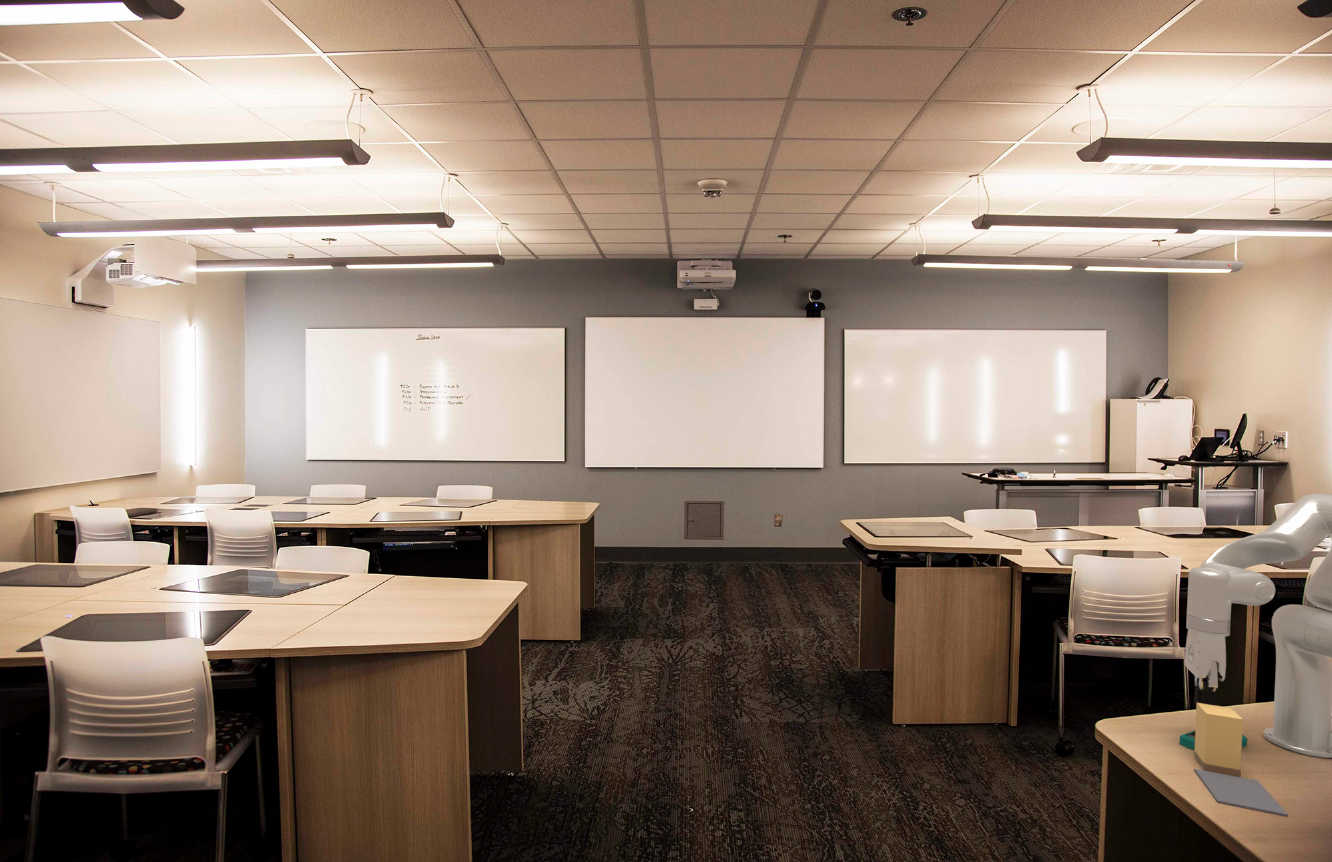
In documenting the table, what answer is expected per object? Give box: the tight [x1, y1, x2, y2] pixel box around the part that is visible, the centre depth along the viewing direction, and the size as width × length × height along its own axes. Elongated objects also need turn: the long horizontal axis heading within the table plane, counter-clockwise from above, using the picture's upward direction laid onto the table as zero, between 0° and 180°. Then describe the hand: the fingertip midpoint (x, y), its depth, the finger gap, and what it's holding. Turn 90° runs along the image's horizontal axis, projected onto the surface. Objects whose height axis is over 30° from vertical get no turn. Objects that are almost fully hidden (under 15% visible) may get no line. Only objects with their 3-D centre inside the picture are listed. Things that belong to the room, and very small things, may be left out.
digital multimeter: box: [1178, 729, 1248, 752], centre depth 152 cm, size 7×15×3 cm, turn 118°
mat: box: [1193, 768, 1289, 818], centre depth 132 cm, size 10×13×1 cm
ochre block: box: [1194, 703, 1244, 777], centre depth 141 cm, size 6×6×12 cm
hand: (1204, 706), depth 149 cm, fingers closed
